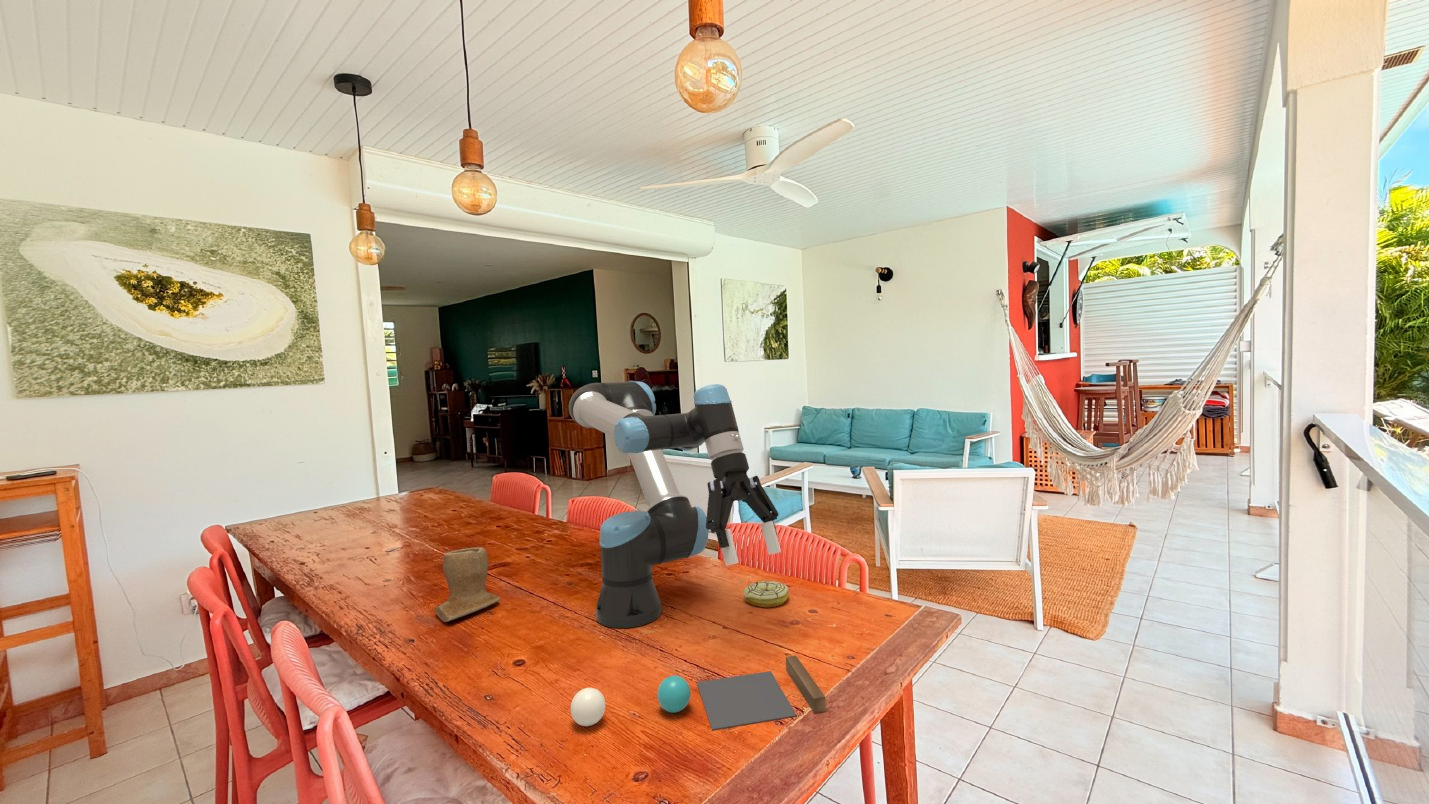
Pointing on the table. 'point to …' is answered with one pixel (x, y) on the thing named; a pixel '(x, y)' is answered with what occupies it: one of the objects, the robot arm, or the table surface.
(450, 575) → the tan flanged block
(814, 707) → the rail
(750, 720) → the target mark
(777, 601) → the decorated donut
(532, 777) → the table surface
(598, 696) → the cue ball
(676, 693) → the teal ball
